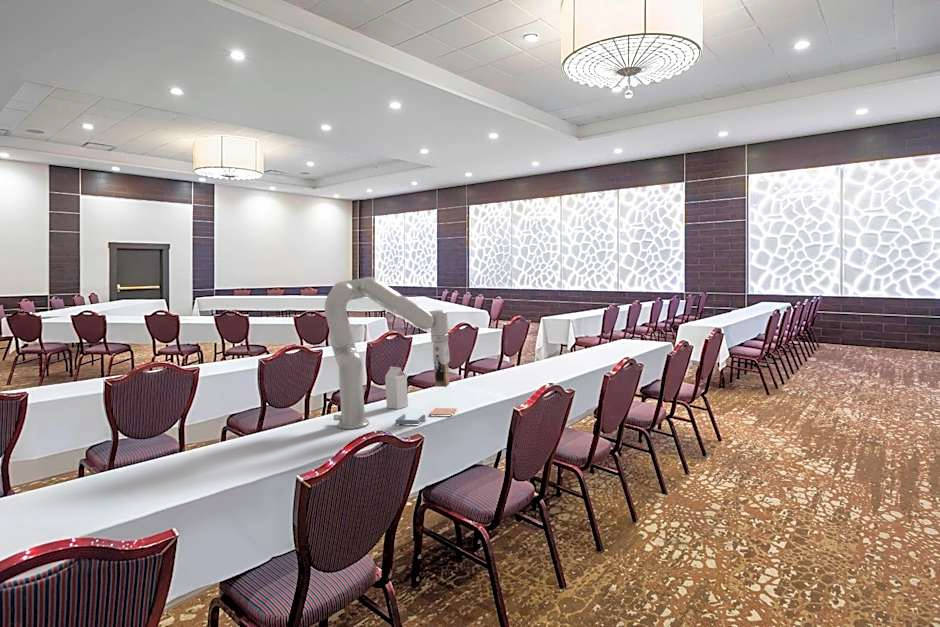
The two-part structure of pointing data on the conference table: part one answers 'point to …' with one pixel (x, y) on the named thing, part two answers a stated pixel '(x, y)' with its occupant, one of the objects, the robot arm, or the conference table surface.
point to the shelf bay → (402, 421)
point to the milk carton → (396, 388)
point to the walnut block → (446, 376)
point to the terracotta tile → (443, 411)
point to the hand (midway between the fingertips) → (442, 378)
